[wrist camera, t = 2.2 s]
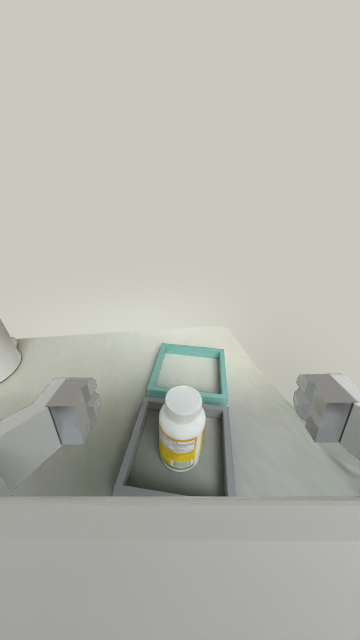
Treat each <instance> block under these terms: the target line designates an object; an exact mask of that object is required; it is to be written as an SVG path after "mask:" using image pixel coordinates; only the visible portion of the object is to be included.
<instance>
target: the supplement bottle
mask: <svg viewBox="0 0 360 640" xmlns="http://www.w3.org/2000/svg"><path fill="white" fill-rule="evenodd" d="M205 422H206V416H205V412H204V409H203V408H202V397H201V395H200V393H199V392H198V391H197V390H196V389H194V388H192V387H190V386H186V385H179V386H175V387H173V388H171V389H170V390H169V391H168V392H167V394H166V397H165V404H164V405H163V406H162V408H161V410H160V413H159V453H160V457H161V460H162V462H163V463H164V464H165V465H166V466H167V467H168V468H169V469H171V470H173V471H176V472H184V471H188V470H190V469H192V468H193V467H194V466H195V465H196V464H197V462H198V461H199V458H200V454H201V448H202V442H203V435H204V429H205Z"/></svg>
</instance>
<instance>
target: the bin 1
mask: <svg viewBox="0 0 360 640" xmlns="http://www.w3.org/2000/svg"><path fill="white" fill-rule="evenodd" d="M165 353H172V354H181V355H191V356H200V357H210V358H219V373H220V394H215V393H206V392H199V393H200V395H201V397H202V403H203V404H210V405H218V406H227V401H228V395H227V382H226V370H225V358H224V349H215V348H205V347H196V346H186V345H176V344H166V343H162V346H161V349H160V352H159V355H158V357H157V360H156V363H155V366H154V369H153V372H152V375H151V378H150V381H149V384H148V387H147V397H155V398H163V399H165V397H166V394H167V392H168V391H169V390H170V389H171V388H165V387H157V386H156V383H157V380H158V376H159V373H160V369H161V366H162V363H163V359H164V356H165Z"/></svg>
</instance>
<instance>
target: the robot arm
mask: <svg viewBox="0 0 360 640" xmlns="http://www.w3.org/2000/svg"><path fill="white" fill-rule="evenodd" d="M16 347H17V341H16V339H15V338H14V337H10V335H9V333H8V331H7V330H6V328H5V326H4V324H3V323H2V321H1V319H0V382H2V381H3V380H4V379H6V378H7V377H8V376H9V375H11V374H12V373H13V372H14V371H15V370H16V368H17V367H18V365H19V364H20V361H21V354H20V352H19V351H18V350H17V348H16ZM296 383H297V385H298V386H299V388H298V389H297V390H296V391H295V392H294V398H293V401H294V407H295V410H296V412H297V414H298V416H299V417H300V418H302V419H303V420H305V421H306V425H305V427H306V429H307V431H308V432H309V434H310V435H311V437H312V439H313V440H314V442H317V443H340V445H341V446H342V447H344V448H345V449H346V450H347V451H349V452H350V453H351V454H353V455H354V456H355V457H356V458H358V459H359V460H360V389H359V388H358V387H357V386H355V385H354V384H353V383H352V382H351V381H350V380H349V379H348V378H347V377H346V376H344V375H343V374H341V373H329V374H310V375H309V374H307V375H299V376H298V378H297V382H296ZM96 387H97V384H96V381H95V379H94V378H55V379H53V380H52V381H51V383H50V384H49V385H48V386H47V387H46V388H45V389H44V391H43V392H42V393H41V394H40V395H39V396H38V398H37V399H36V400H35V401H34V402H33V403H32V405H31V406H30V407H25V408H23V409H21V410H19V411H17V412H16V413H14V414H12V415H10V416H8V417H6V418H5V419H3V420H1V421H0V640H360V496H259V497H206V496H12V495H11V492H12V491H13V490H14V489H16V488H17V487H18V486H19V485H20V484H21V483H22V482H23V481H24V480H25V479H26V478H28V477H29V476H30V475H31V474H32V473H33V472H34V471H35V470H36V469H37V468H38V467H39V466H41V465H42V464H43V463H44V462H45V461H46V460H47V459H48V458H49V457H50V456H51V455H53V454H54V453H55V452H56V451H57V450H58V449H59V448H60V447H61V445H73V444H85V442H86V440H87V438H88V435H89V433H90V431H91V429H92V428H91V424H90V423H92V422H93V421H94V420H95V419H96V418H97V416H98V413H99V409H100V397H99V394H98V393H96V392H95V389H96Z"/></svg>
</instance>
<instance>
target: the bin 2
mask: <svg viewBox="0 0 360 640" xmlns="http://www.w3.org/2000/svg"><path fill="white" fill-rule="evenodd" d="M164 404H165V399H163V398H155V397H147V396H144V399H143V402H142V405H141V408H140V411H139V414H138V417H137V420H136V423H135V426H134V429H133V432H132V435H131V438H130V441H129V444H128V447H127V450H126V453H125V456H124V459H123V462H122V465H121V468H120V471H119V474H118V477H117V480H116V483H115V486H114V489H113V492H112V494H113V496H185V495H179V494H173V493H167V492H161V491H155V490H149V489H143V488H137V487H131V486H126V485H127V481H128V478H129V475H130V471H131V468H132V465H133V461H134V458H135V454H136V451H137V448H138V444H139V441H140V437H141V434H142V431H143V427H144V424H145V420H146V417H147V414H148V410H149V409H151V410H159V411H160V410H161V408H162V406H163V405H164ZM202 408H203V409H204V412H205V416H206V417H212V418H220V419H222V439H223V461H224V483H225V497H236V494H235V482H234V469H233V457H232V444H231V432H230V420H229V407H226V406H218V405H210V404H203V403H202Z"/></svg>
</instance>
